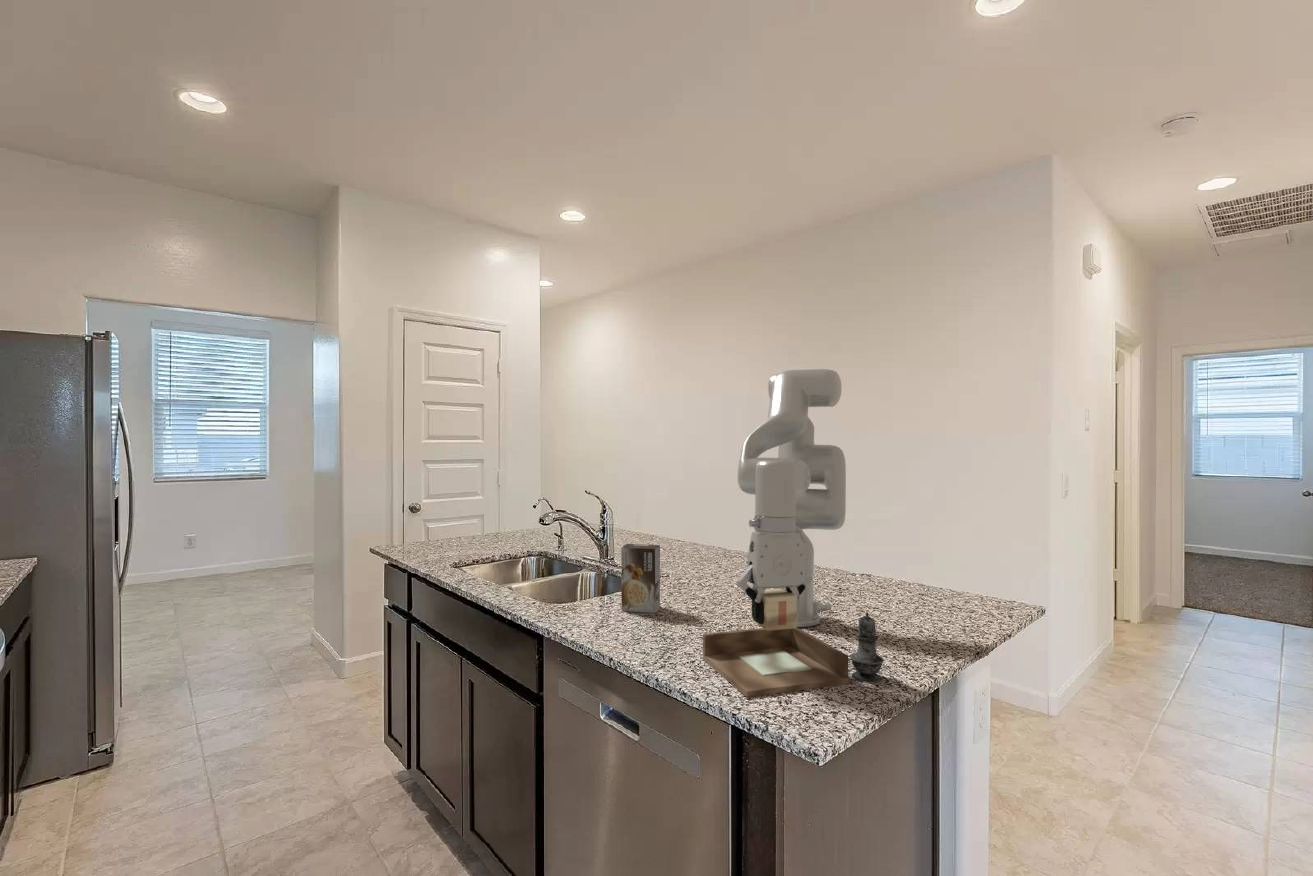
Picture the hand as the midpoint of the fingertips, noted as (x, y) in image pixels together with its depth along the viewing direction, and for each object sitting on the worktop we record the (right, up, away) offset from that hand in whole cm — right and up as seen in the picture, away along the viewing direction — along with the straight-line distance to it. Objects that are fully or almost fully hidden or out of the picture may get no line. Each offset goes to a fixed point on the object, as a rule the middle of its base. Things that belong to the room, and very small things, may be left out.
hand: (774, 620), depth 119 cm
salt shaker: (+16, -10, -4) cm, 19 cm away
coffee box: (-26, -9, +41) cm, 50 cm away
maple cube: (0, -1, 0) cm, 1 cm away
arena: (-1, -9, -1) cm, 9 cm away
